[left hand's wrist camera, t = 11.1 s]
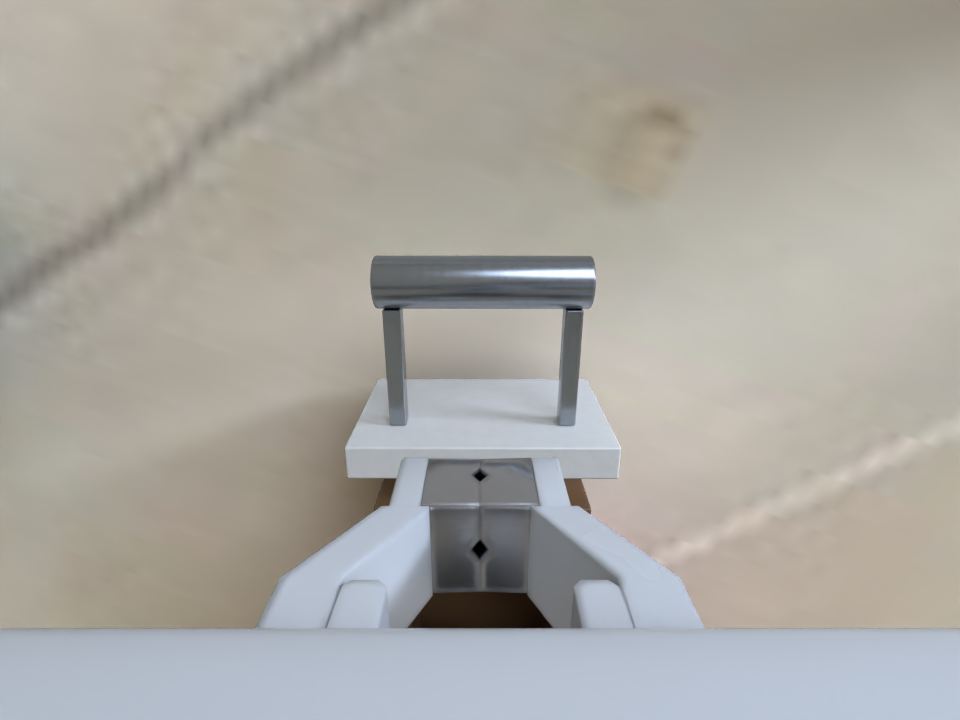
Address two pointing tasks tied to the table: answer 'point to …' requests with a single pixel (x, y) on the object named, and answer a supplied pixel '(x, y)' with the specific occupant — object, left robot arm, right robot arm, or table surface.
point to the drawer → (483, 399)
